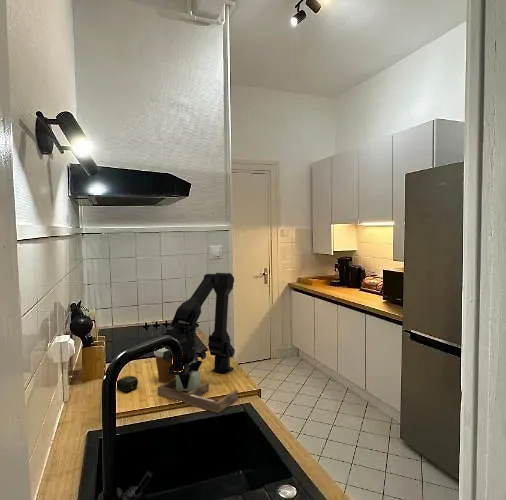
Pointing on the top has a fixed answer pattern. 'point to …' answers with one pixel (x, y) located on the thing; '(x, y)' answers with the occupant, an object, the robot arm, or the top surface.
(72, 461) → the top surface
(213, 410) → the walnut comb rail
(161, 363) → the disposable coffee cup
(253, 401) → the top surface
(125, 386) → the tape measure
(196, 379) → the frame block
